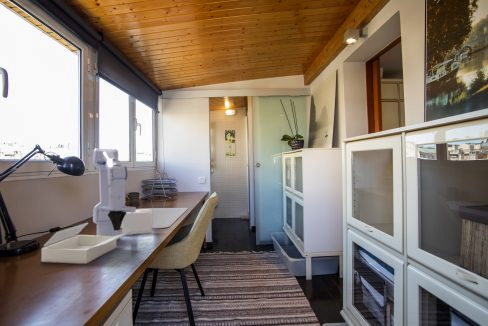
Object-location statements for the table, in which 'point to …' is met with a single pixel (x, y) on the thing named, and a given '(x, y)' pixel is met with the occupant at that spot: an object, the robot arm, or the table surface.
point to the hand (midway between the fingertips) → (117, 229)
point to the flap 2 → (110, 240)
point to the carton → (77, 249)
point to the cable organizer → (138, 222)
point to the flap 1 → (65, 234)
